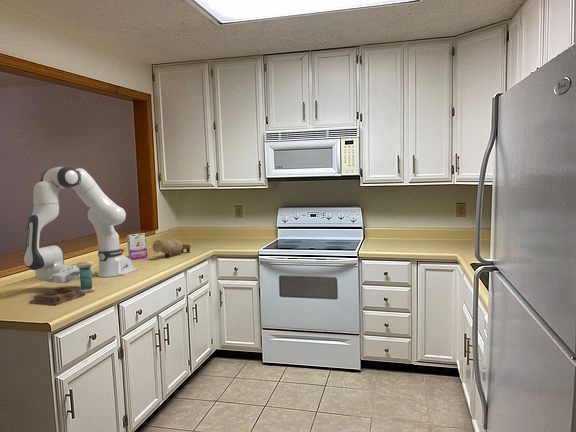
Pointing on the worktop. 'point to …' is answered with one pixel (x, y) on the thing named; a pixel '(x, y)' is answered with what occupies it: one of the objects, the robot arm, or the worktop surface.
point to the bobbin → (85, 277)
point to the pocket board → (57, 296)
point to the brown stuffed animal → (170, 247)
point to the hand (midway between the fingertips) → (85, 275)
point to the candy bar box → (137, 246)
